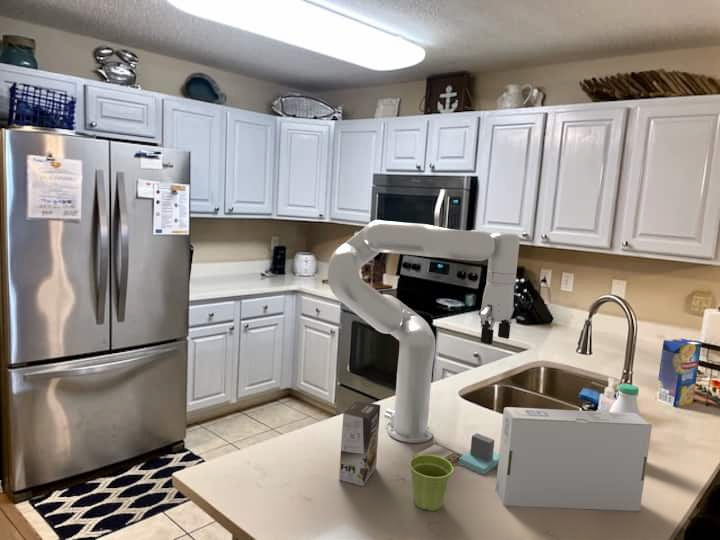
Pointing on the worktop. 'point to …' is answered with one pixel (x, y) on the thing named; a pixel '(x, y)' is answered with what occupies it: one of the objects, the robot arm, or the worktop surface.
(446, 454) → the ticket board
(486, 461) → the block on base
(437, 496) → the plant pot
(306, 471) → the worktop surface
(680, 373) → the blue tall rectangular box
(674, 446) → the worktop surface
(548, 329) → the worktop surface
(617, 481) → the packaging
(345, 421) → the coffee box
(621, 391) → the milk bottle
